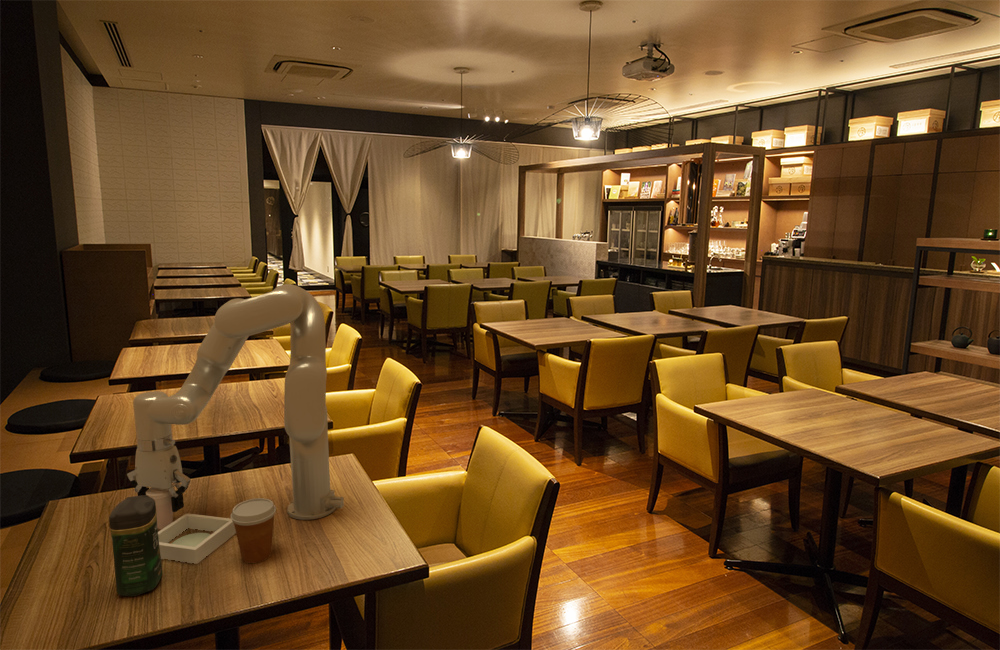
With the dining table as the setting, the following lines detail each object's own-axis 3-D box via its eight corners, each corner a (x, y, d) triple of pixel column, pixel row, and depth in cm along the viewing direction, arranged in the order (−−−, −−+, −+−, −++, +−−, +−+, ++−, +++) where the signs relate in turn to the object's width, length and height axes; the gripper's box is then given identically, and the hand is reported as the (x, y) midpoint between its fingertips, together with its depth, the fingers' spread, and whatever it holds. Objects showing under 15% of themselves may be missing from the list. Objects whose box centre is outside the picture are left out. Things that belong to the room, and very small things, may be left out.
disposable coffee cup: (235, 572, 130) (231, 521, 128) (232, 550, 138) (228, 502, 136) (281, 560, 134) (278, 511, 132) (276, 540, 143) (272, 494, 140)
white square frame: (236, 532, 146) (235, 519, 146) (196, 564, 133) (195, 549, 132) (187, 526, 149) (186, 513, 149) (143, 556, 136) (141, 542, 135)
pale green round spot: (221, 536, 144) (221, 535, 144) (195, 556, 136) (194, 555, 136) (189, 532, 146) (189, 530, 146) (161, 552, 138) (161, 550, 138)
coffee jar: (157, 594, 122) (147, 510, 119) (112, 601, 120) (102, 516, 117) (167, 568, 131) (158, 489, 128) (126, 574, 129) (116, 494, 126)
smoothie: (165, 533, 146) (160, 479, 143) (143, 530, 147) (137, 477, 145) (184, 520, 152) (179, 469, 149) (162, 518, 153) (157, 466, 151)
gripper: (196, 440, 147) (202, 504, 150) (137, 434, 151) (143, 497, 154) (174, 451, 140) (180, 518, 143) (112, 444, 144) (119, 510, 147)
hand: (161, 507), depth 149 cm, fingers open, 9 cm apart
